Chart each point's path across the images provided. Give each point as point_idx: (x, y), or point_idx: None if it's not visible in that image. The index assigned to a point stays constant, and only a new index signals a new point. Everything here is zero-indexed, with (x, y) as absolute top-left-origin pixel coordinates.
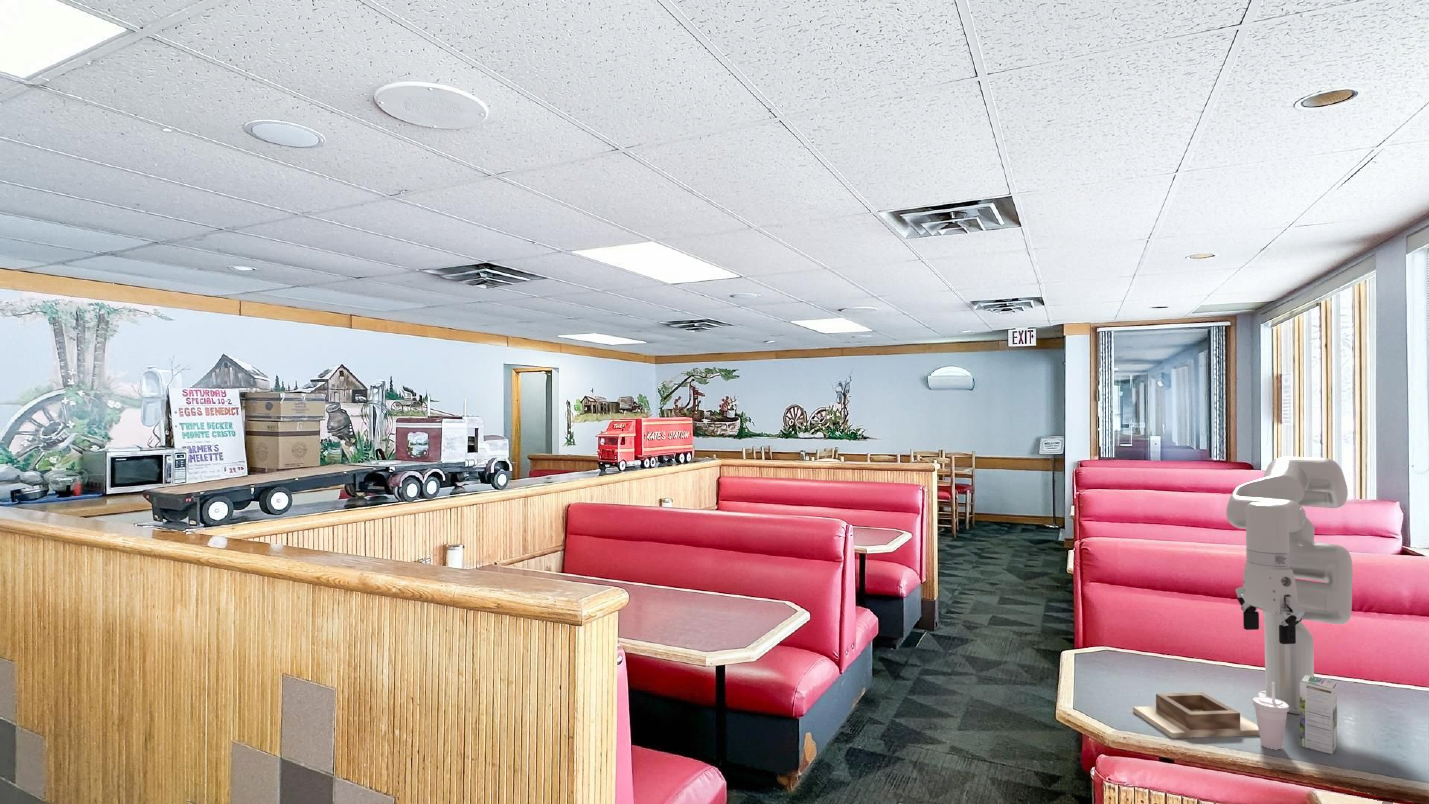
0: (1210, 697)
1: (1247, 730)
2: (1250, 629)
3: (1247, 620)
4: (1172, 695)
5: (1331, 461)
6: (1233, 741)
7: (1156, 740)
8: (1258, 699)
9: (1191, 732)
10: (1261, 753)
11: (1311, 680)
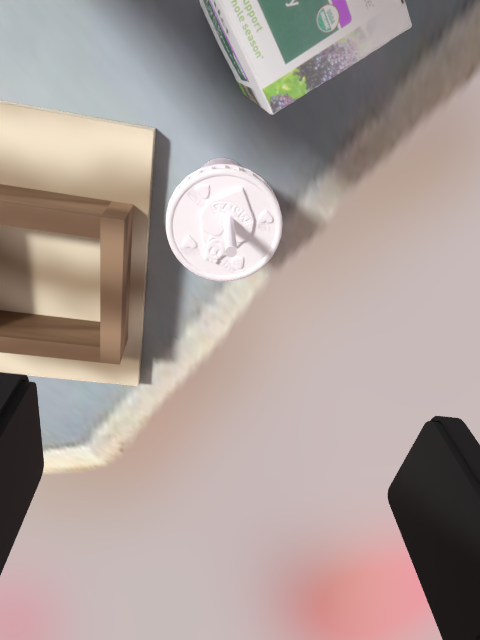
0: None
1: (149, 195)
2: (40, 441)
3: (9, 548)
4: None
5: None
6: (176, 260)
7: (144, 410)
8: (189, 247)
9: (140, 346)
10: None
11: (289, 30)
